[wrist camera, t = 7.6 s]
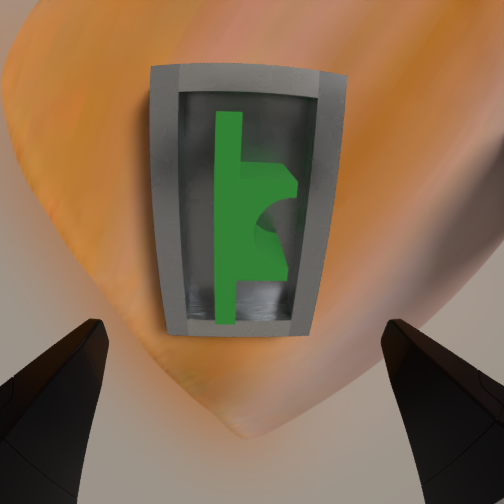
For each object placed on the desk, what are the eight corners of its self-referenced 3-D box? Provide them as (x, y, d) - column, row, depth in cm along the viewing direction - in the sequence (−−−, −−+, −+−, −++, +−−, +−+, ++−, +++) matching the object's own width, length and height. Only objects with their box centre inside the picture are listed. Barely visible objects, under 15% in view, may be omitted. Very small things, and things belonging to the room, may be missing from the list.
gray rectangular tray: (330, 79, 15) (347, 75, 13) (301, 311, 23) (308, 335, 21) (163, 71, 15) (151, 66, 12) (173, 310, 22) (167, 334, 20)
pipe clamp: (272, 281, 21) (281, 325, 17) (218, 280, 21) (215, 325, 17) (286, 113, 16) (304, 116, 12) (220, 109, 15) (215, 111, 11)
